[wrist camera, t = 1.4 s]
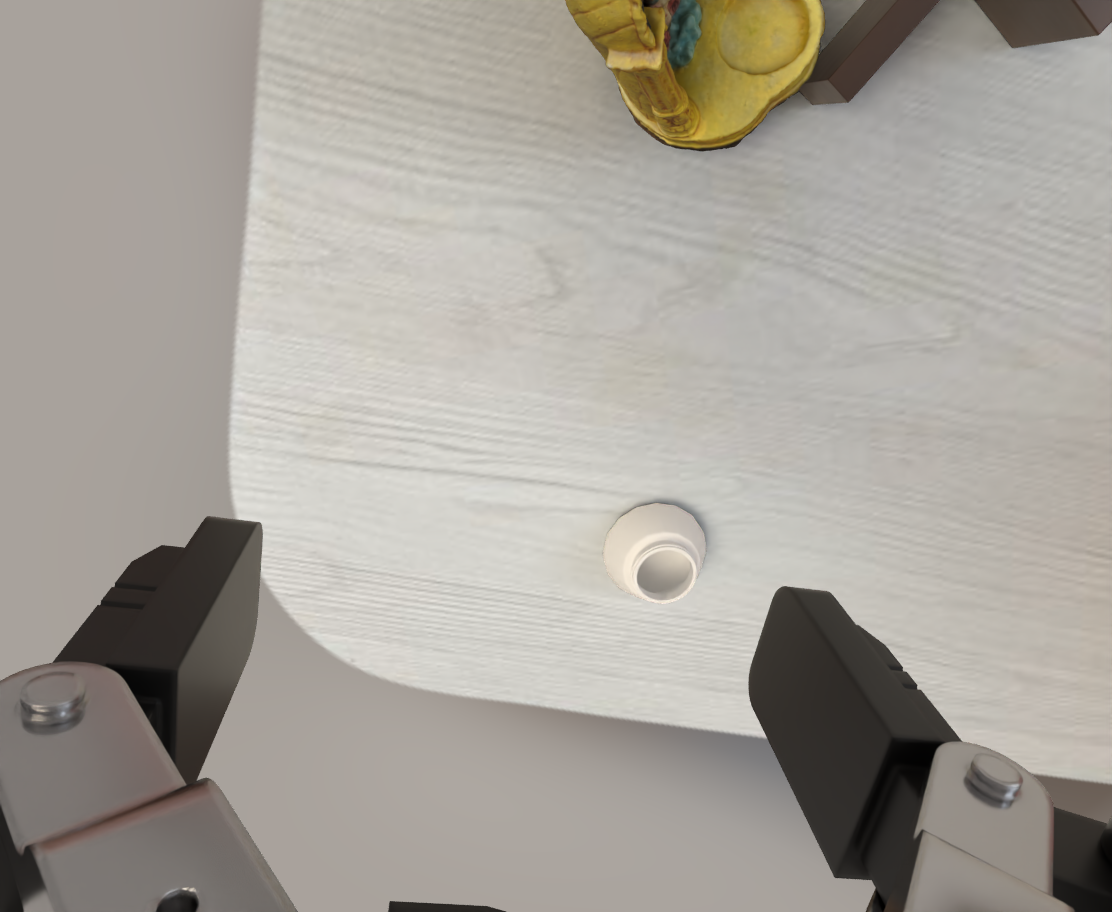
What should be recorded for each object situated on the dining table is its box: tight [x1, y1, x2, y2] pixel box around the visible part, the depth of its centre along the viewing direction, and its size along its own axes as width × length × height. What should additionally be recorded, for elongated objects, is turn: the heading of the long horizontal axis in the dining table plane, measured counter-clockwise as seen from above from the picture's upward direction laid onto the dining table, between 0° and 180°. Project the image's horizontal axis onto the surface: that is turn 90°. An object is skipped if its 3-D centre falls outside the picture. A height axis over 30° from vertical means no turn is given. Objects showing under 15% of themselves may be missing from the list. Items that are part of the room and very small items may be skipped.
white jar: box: [603, 503, 707, 604], centre depth 39 cm, size 5×3×5 cm
